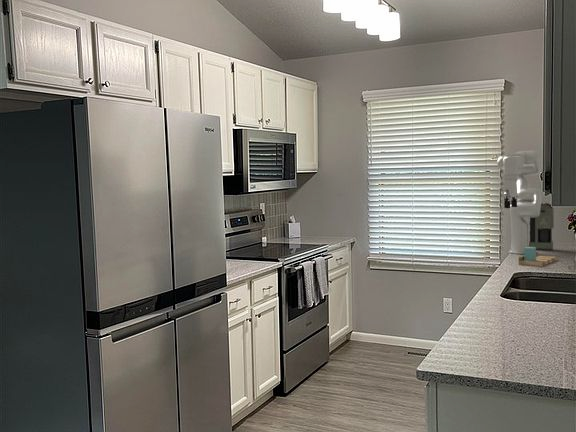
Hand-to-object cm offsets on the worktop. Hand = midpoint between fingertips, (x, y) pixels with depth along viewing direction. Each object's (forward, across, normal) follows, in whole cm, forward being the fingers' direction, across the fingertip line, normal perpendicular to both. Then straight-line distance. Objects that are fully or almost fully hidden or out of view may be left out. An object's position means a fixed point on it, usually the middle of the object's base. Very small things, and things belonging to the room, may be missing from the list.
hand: (510, 207), depth 322 cm
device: (+31, -48, 0) cm, 57 cm away
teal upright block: (+28, +9, +14) cm, 33 cm away
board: (+30, +2, +16) cm, 34 cm away
